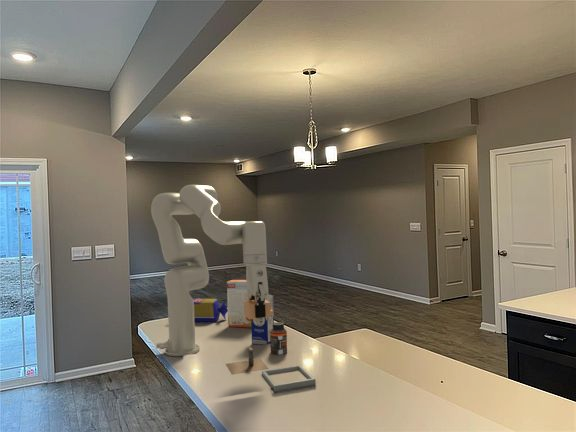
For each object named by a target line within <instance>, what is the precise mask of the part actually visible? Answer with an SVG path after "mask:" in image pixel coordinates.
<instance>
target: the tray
mask: <svg viewBox="0 0 576 432" xmlns="http://www.w3.org/2000/svg"><path fill="white" fill-rule="evenodd" d="M298 370H299V371H300V372H301V374H303V375H304V376H305V377H306V378H307V379H301V380H296V381H290V382H284V383H278V384H276V382H275V381H274V380H273V379H272V378H271V377H270V375H272V374H279V373H285V372H290V371H298ZM261 375H262V376H263V377H264V379H265V380H266V381H267V383H269V385H270V386H271V388H270V390H271V391H272V392H273V393H274V394H277V393H284V392H289V391H295V390H301V389H307V388H311V387H317V386H316V384H317V382H316V378H315V377H314V376H313V375H311V373H309V372H308V371H307V370H306V369H305V368H304V367H303V366H302V365H300V364H298V365H292V366H285V367H279V368H277V367H276V368H272V369H264V370H261Z"/></svg>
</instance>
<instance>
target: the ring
mask: <svg viewBox="0 0 576 432" xmlns="http://www.w3.org/2000/svg"><path fill="white" fill-rule="evenodd" d="M255 305H256V301H255V300H249V301H244V315H245V316H246V317H247V318H248V319H256V317H255ZM265 311H266V317H271V315H273V310H271V306H270V302H269V301H267V300H265ZM262 318H265V317H262Z"/></svg>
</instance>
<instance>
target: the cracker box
mask: <svg viewBox="0 0 576 432" xmlns="http://www.w3.org/2000/svg"><path fill="white" fill-rule="evenodd" d="M226 291H227V293H226V295H227V297H226V298H227V309H228V312H227V325H228V327H229V326H230V328H231V327H232V328H251V319H248V318H247V317H246V316H245V315H244V301H249V293H248V292H247V283H246V279H231V280H228V281H226Z"/></svg>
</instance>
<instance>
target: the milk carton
mask: <svg viewBox="0 0 576 432" xmlns="http://www.w3.org/2000/svg"><path fill="white" fill-rule="evenodd" d="M258 295H260V294H258ZM265 300H267V301H269V302H270V306H271V310H273V315H271V317H265V318H256V319H251V345H259V346H263V345H270V331H271V330H272V329H273V323H275V317H274V316H275V313H274V312H275V311H274V310H275V309H274V308H275V307H274V295H272V294H269V293H268V295H265Z"/></svg>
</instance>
